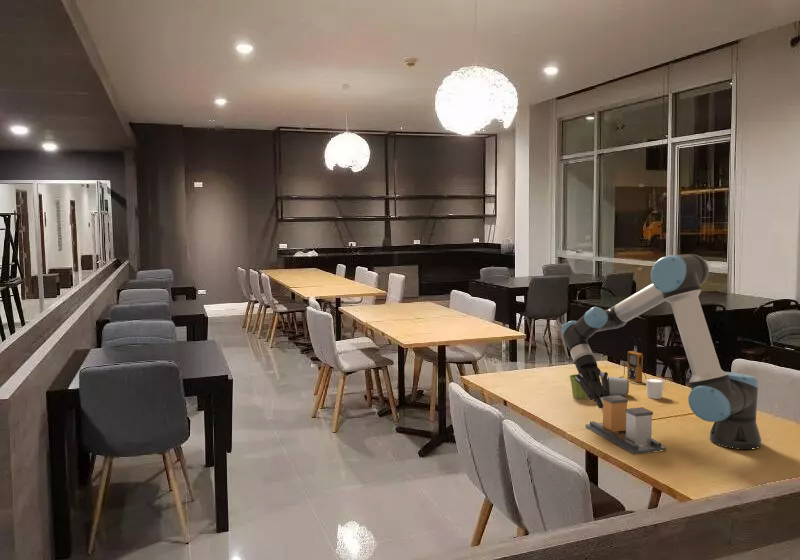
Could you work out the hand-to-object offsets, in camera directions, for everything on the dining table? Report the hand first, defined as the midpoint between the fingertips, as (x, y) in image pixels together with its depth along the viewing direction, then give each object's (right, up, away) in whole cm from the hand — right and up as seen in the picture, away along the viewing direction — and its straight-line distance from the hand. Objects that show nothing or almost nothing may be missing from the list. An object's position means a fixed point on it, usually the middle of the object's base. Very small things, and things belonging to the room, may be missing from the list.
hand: (608, 415), depth 231 cm
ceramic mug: (+18, -1, +46) cm, 50 cm away
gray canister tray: (+3, -6, -8) cm, 11 cm away
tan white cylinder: (+32, -1, +41) cm, 52 cm away
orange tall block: (+1, -4, -3) cm, 5 cm away
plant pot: (+2, -1, +42) cm, 42 cm away
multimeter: (+30, +1, +67) cm, 73 cm away
